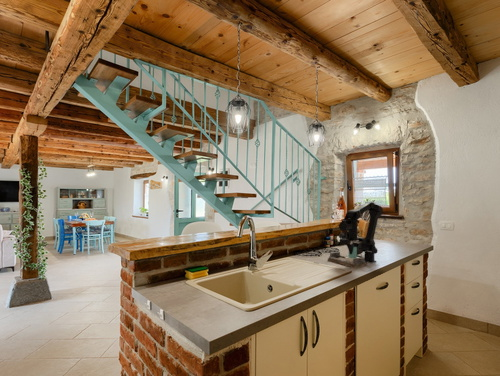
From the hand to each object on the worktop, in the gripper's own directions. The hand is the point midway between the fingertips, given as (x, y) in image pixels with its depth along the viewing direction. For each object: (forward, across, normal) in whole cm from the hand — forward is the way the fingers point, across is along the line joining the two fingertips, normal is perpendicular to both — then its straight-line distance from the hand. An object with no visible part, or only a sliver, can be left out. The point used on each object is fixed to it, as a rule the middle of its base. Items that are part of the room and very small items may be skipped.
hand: (352, 253), depth 183 cm
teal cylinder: (+5, 0, 0) cm, 5 cm away
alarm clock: (+7, -24, -17) cm, 30 cm away
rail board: (+7, 0, -5) cm, 9 cm away
